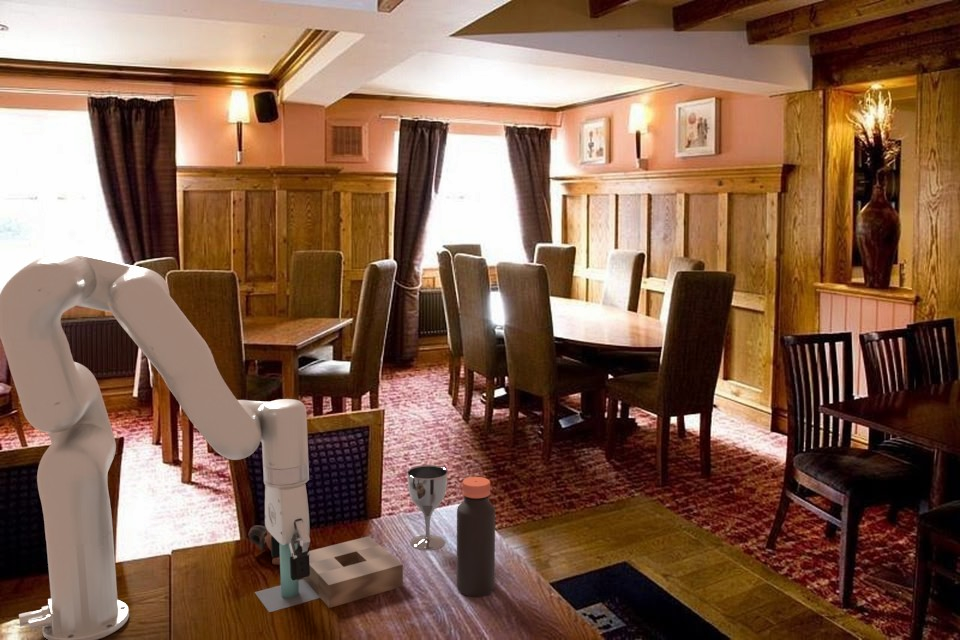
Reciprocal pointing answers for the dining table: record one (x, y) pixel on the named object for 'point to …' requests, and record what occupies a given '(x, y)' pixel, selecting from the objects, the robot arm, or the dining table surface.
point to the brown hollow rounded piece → (263, 539)
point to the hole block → (352, 571)
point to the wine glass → (427, 500)
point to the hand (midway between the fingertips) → (290, 566)
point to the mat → (276, 601)
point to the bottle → (475, 539)
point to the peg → (287, 573)
